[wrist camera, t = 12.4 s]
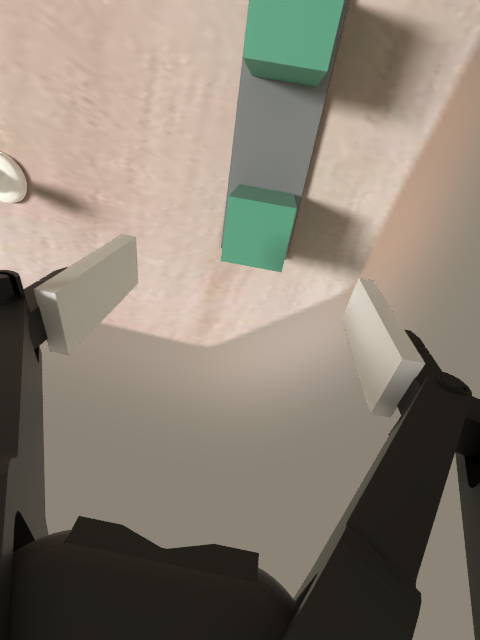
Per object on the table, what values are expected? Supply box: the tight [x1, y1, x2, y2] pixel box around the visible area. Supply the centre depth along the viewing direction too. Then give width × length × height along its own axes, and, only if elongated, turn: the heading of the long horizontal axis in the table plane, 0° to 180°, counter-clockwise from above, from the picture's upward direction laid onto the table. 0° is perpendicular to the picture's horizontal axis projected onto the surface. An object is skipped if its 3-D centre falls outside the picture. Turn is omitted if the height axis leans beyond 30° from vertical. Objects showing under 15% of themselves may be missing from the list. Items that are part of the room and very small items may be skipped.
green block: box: [221, 184, 297, 272], centre depth 26 cm, size 5×5×7 cm
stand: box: [221, 0, 349, 260], centre depth 23 cm, size 7×20×7 cm, turn 172°
